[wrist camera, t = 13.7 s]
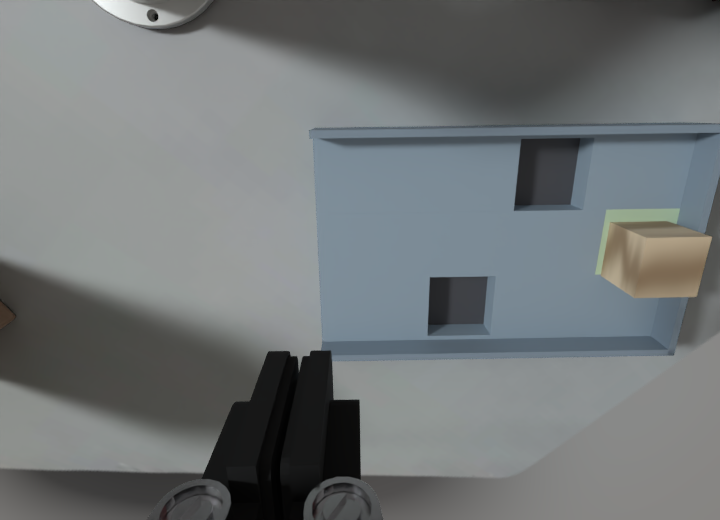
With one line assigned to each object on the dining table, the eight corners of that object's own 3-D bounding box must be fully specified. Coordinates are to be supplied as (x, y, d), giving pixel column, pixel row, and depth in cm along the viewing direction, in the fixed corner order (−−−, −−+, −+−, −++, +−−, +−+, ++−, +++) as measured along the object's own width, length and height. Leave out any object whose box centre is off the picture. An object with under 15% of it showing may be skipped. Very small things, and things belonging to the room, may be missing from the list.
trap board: (315, 128, 37) (309, 130, 32) (684, 122, 37) (732, 124, 33) (324, 334, 44) (320, 361, 39) (639, 329, 44) (673, 355, 39)
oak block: (610, 222, 38) (646, 237, 33) (667, 221, 38) (712, 236, 33) (600, 275, 39) (634, 298, 34) (655, 274, 39) (696, 296, 34)
